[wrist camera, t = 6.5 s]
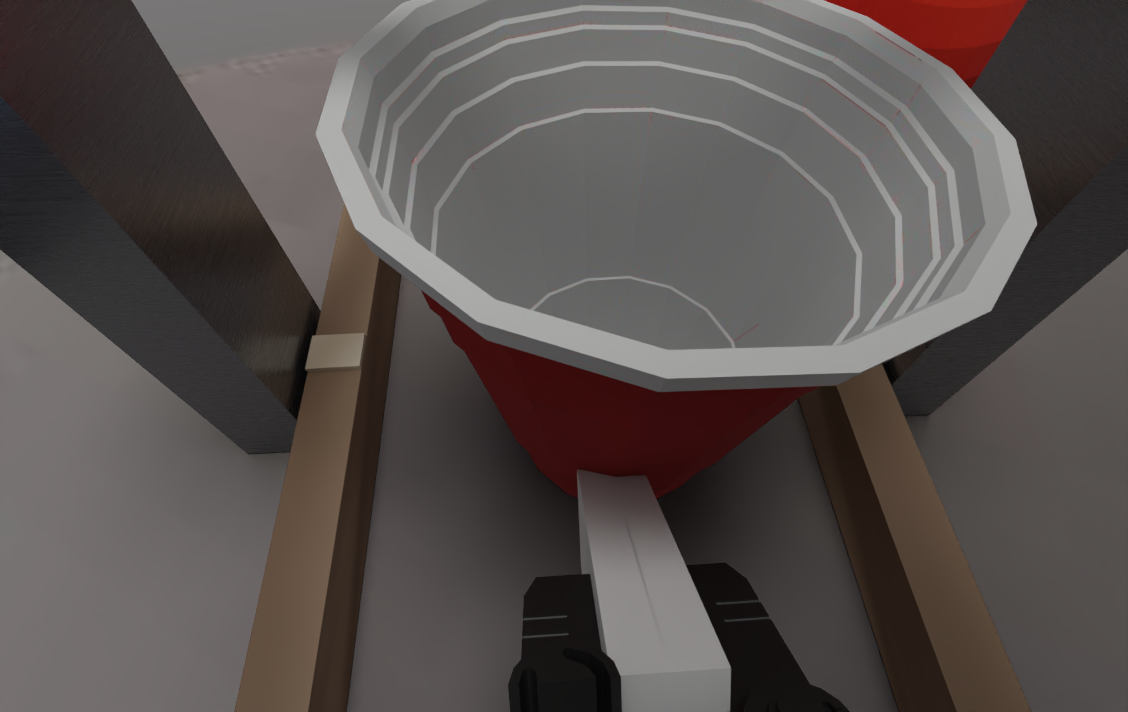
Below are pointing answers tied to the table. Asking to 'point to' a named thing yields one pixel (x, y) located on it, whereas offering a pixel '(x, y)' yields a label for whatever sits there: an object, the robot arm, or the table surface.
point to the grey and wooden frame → (369, 303)
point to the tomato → (946, 27)
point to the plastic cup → (670, 208)
